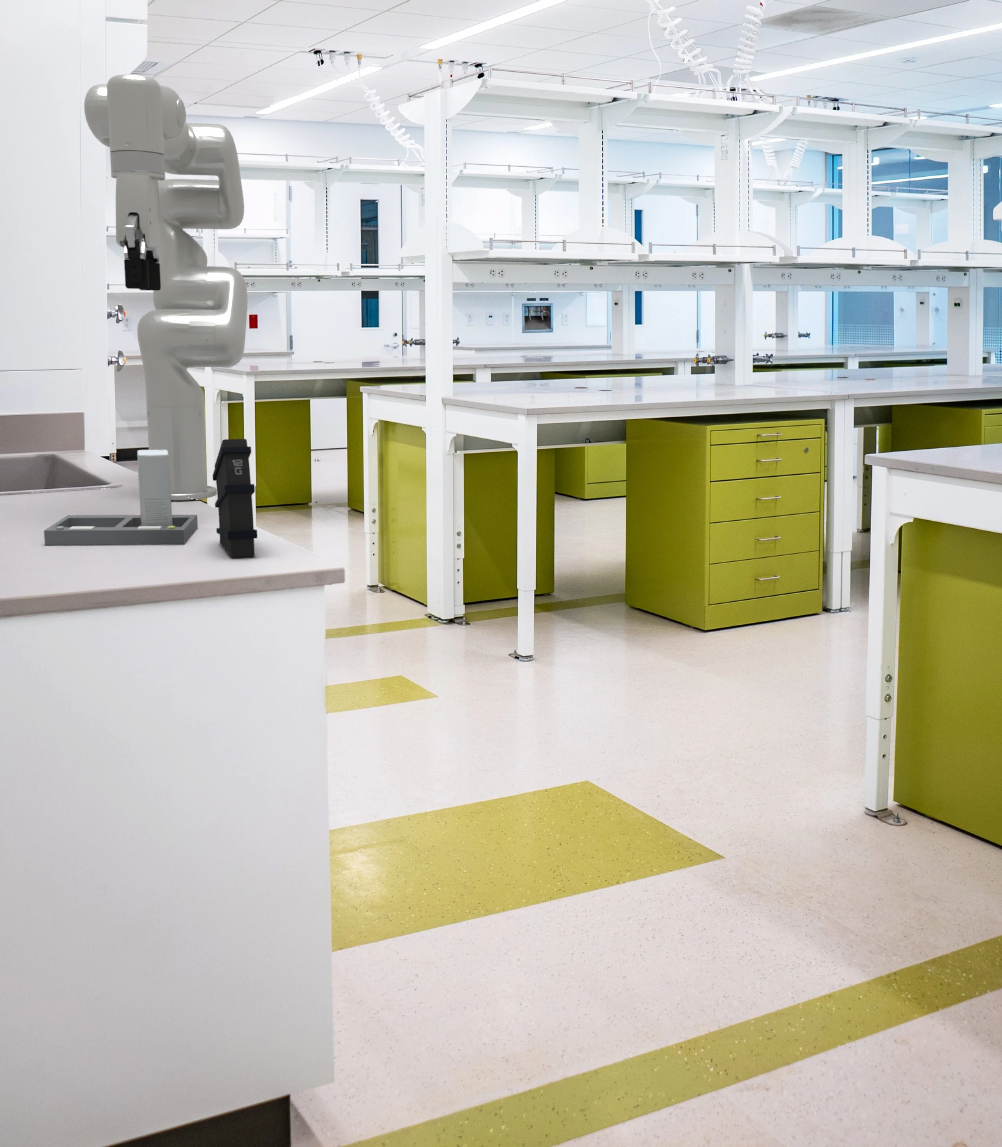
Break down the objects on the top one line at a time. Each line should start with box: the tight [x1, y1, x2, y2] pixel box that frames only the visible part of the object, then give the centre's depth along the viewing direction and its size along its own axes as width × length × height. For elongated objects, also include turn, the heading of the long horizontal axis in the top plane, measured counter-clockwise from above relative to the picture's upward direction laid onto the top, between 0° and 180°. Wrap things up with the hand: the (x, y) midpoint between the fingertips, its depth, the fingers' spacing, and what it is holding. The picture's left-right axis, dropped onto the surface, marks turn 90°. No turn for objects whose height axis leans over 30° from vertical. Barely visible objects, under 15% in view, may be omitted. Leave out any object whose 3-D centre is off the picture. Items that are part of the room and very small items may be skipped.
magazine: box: [212, 438, 258, 559], centre depth 158 cm, size 4×13×15 cm, turn 21°
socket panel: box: [43, 514, 199, 546], centre depth 168 cm, size 13×18×2 cm
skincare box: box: [136, 449, 173, 527], centre depth 167 cm, size 6×4×12 cm
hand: (143, 289), depth 175 cm, fingers open, 9 cm apart
